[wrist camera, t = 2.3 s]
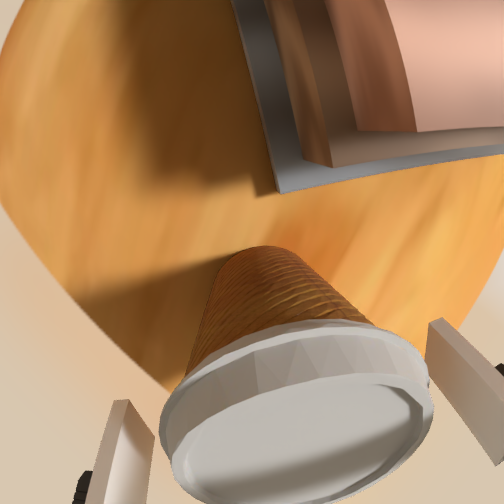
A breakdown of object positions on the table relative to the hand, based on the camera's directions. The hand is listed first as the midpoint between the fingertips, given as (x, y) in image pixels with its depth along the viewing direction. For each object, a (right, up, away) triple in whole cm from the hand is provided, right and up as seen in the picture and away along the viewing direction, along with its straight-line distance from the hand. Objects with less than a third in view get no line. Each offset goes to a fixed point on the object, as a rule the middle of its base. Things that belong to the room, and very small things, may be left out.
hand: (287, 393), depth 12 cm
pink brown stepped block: (+7, +19, +2) cm, 21 cm away
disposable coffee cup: (-1, +3, +8) cm, 8 cm away
